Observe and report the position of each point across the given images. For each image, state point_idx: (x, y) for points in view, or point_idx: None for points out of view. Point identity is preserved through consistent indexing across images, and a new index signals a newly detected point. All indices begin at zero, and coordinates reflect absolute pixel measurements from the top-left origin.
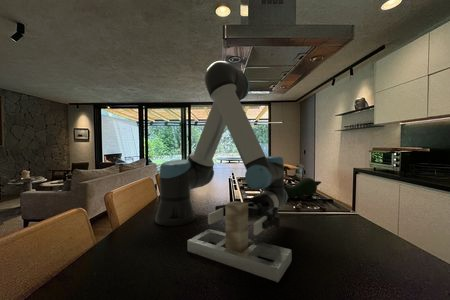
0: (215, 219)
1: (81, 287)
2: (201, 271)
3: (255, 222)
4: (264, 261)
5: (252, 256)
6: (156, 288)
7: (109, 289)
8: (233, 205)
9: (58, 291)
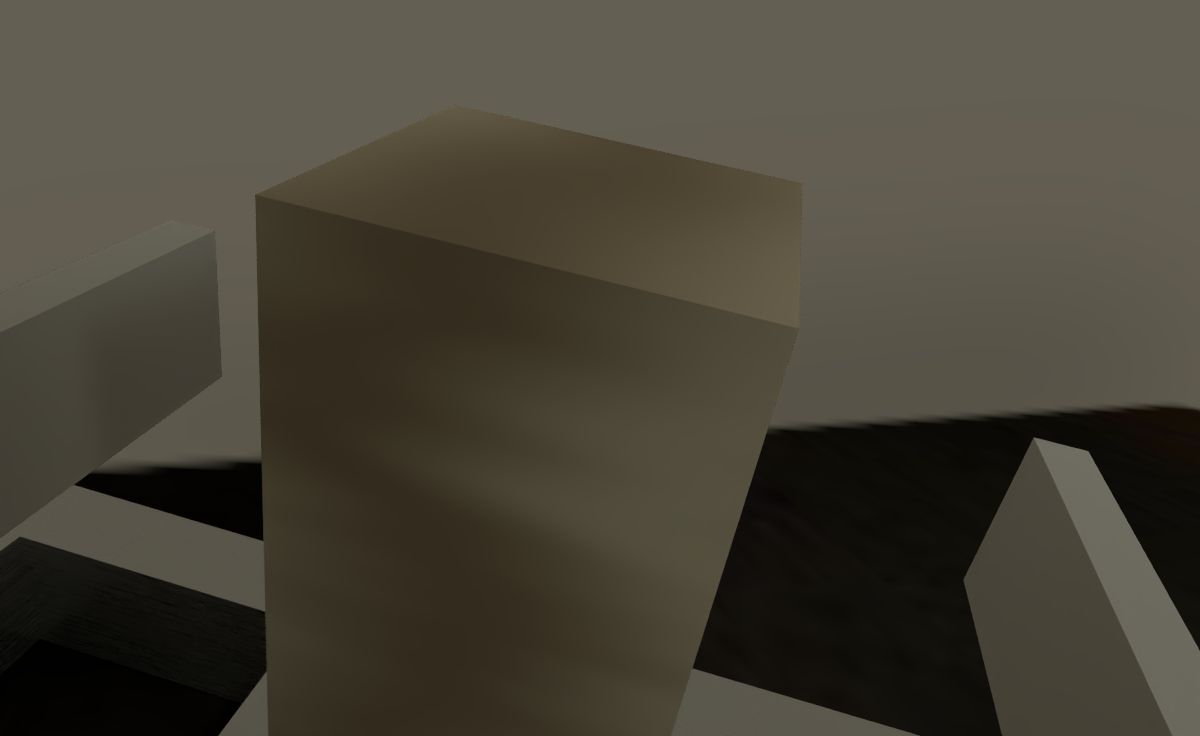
0: (1012, 670)
1: (1131, 438)
2: None
3: (174, 245)
4: (121, 537)
5: (245, 600)
6: (838, 456)
7: (1018, 437)
8: (612, 144)
9: (1165, 418)
